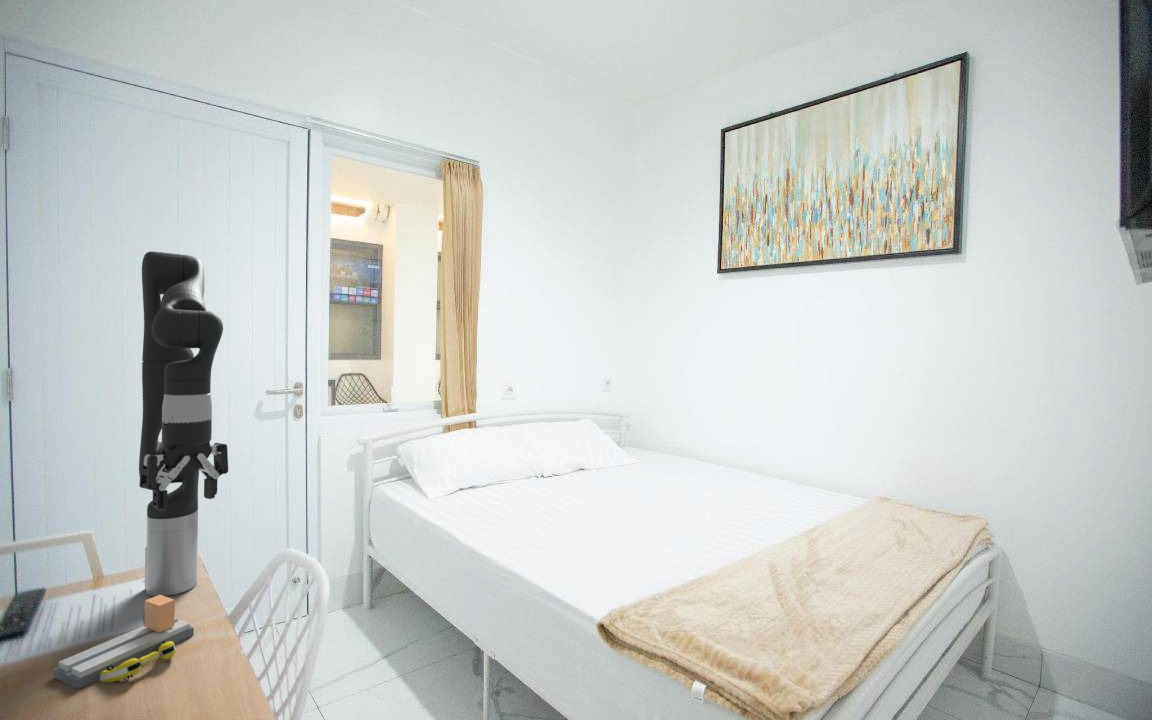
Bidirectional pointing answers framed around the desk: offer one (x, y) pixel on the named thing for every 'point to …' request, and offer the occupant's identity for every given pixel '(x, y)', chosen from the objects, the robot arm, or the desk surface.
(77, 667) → the fader track
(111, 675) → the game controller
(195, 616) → the desk surface
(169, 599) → the cap
